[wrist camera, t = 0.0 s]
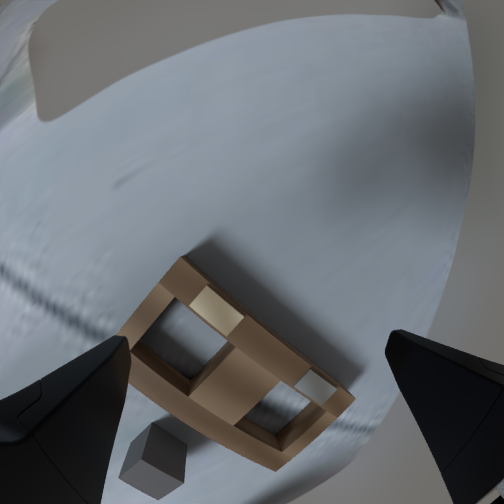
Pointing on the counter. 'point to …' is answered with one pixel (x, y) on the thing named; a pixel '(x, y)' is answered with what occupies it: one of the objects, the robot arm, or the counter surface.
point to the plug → (155, 462)
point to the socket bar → (231, 372)
